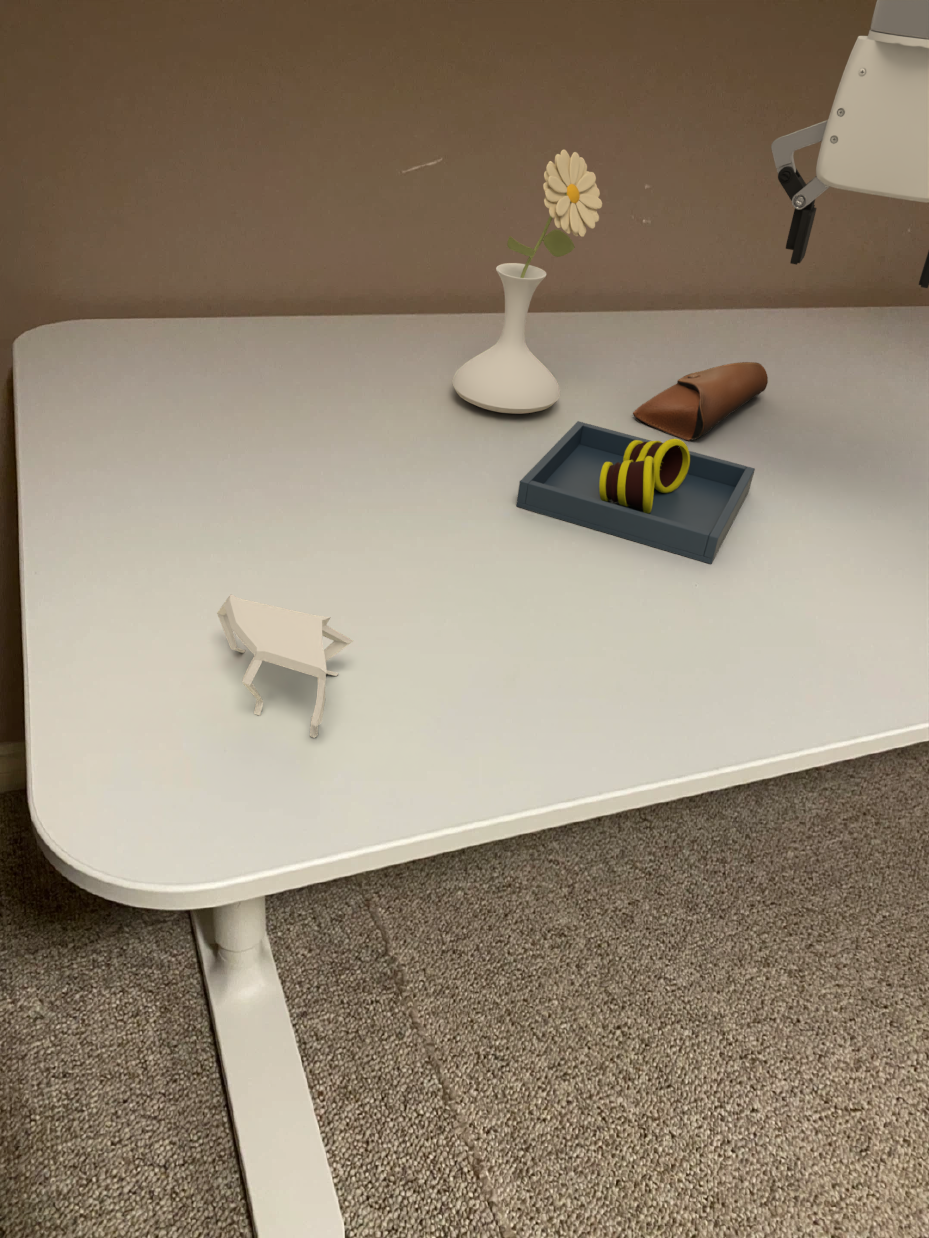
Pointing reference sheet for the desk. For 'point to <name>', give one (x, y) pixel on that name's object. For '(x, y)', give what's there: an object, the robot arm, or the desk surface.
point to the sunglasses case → (703, 399)
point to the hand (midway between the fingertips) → (859, 272)
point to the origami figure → (282, 643)
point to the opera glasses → (645, 472)
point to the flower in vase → (509, 367)
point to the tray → (674, 524)
